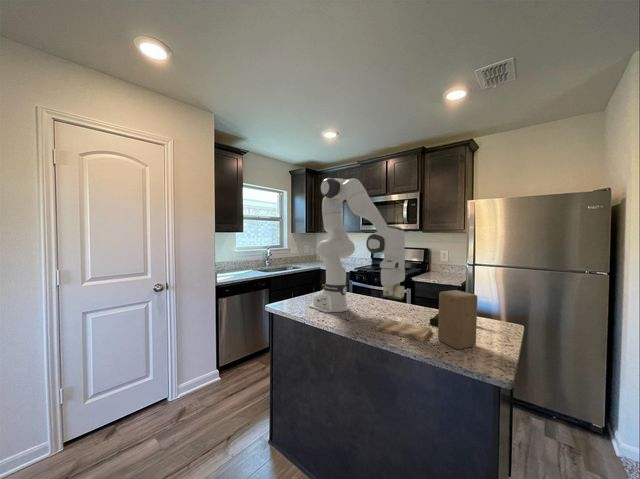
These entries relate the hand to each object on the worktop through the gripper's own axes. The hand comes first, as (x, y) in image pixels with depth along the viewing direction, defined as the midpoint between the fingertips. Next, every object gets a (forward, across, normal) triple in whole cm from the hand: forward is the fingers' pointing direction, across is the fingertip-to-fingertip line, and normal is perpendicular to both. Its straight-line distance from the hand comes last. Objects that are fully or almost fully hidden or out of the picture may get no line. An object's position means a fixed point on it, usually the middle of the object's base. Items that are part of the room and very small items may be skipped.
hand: (393, 293), depth 122 cm
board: (+16, 0, +5) cm, 17 cm away
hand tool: (+16, -24, +14) cm, 32 cm away
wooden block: (+16, 0, +26) cm, 31 cm away
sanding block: (+2, 0, 0) cm, 2 cm away
